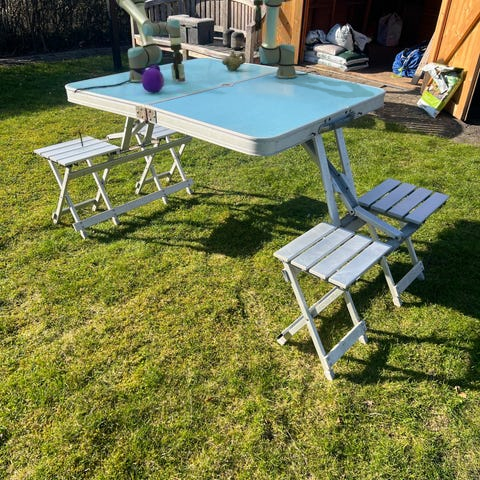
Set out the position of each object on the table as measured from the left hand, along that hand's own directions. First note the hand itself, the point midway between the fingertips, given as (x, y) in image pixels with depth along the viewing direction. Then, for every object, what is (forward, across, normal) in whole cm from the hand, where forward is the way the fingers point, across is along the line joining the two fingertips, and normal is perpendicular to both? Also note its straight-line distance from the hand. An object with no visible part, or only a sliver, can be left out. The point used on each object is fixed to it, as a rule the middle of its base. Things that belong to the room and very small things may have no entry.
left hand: (178, 78), depth 328 cm
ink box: (+2, 0, 0) cm, 2 cm away
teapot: (+4, -55, +30) cm, 63 cm away
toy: (+4, +28, -11) cm, 30 cm away
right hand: (-26, -61, +49) cm, 83 cm away
